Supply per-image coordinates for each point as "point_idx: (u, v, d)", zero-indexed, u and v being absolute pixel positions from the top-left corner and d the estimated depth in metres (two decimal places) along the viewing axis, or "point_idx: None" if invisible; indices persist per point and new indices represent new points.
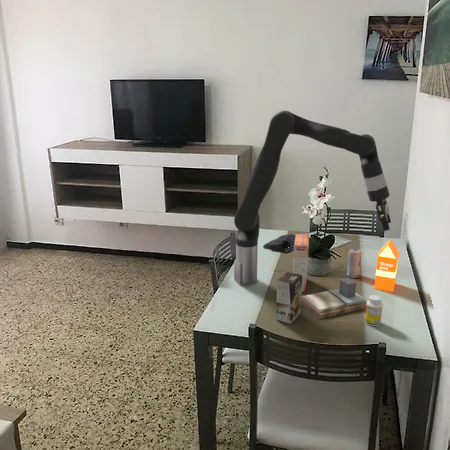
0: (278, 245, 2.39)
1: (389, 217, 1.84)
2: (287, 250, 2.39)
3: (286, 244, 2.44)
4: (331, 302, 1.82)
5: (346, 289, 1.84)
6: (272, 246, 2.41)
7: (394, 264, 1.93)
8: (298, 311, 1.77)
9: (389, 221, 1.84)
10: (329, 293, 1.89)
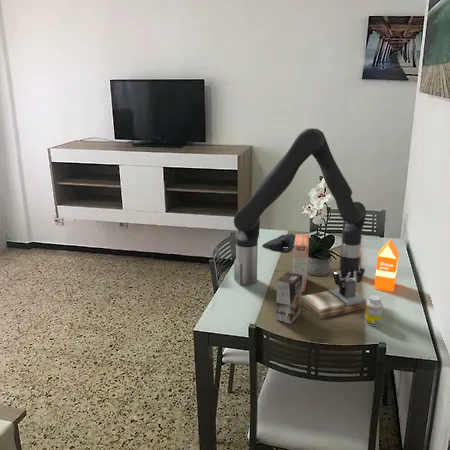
0: (277, 245, 2.40)
1: None
2: (286, 250, 2.39)
3: (285, 244, 2.45)
4: (331, 302, 1.82)
5: (347, 289, 1.84)
6: (271, 246, 2.41)
7: (394, 264, 1.93)
8: (298, 311, 1.77)
9: None
10: (329, 293, 1.89)
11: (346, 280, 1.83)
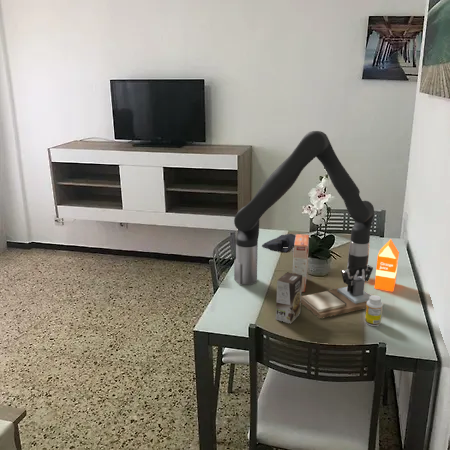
0: (277, 244, 2.40)
1: None
2: (285, 250, 2.40)
3: (285, 244, 2.45)
4: (331, 302, 1.82)
5: (355, 287, 1.86)
6: (271, 245, 2.42)
7: (394, 264, 1.93)
8: (298, 311, 1.77)
9: None
10: (329, 293, 1.89)
11: (354, 278, 1.85)
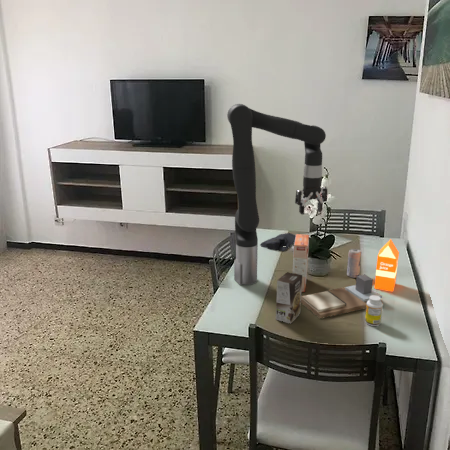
0: (274, 243, 2.41)
1: (320, 207, 2.00)
2: (283, 249, 2.41)
3: (283, 243, 2.46)
4: (331, 302, 1.82)
5: (363, 285, 1.87)
6: (269, 244, 2.43)
7: (394, 264, 1.93)
8: (298, 311, 1.77)
9: (319, 210, 2.01)
10: (329, 293, 1.89)
11: (307, 199, 1.96)
